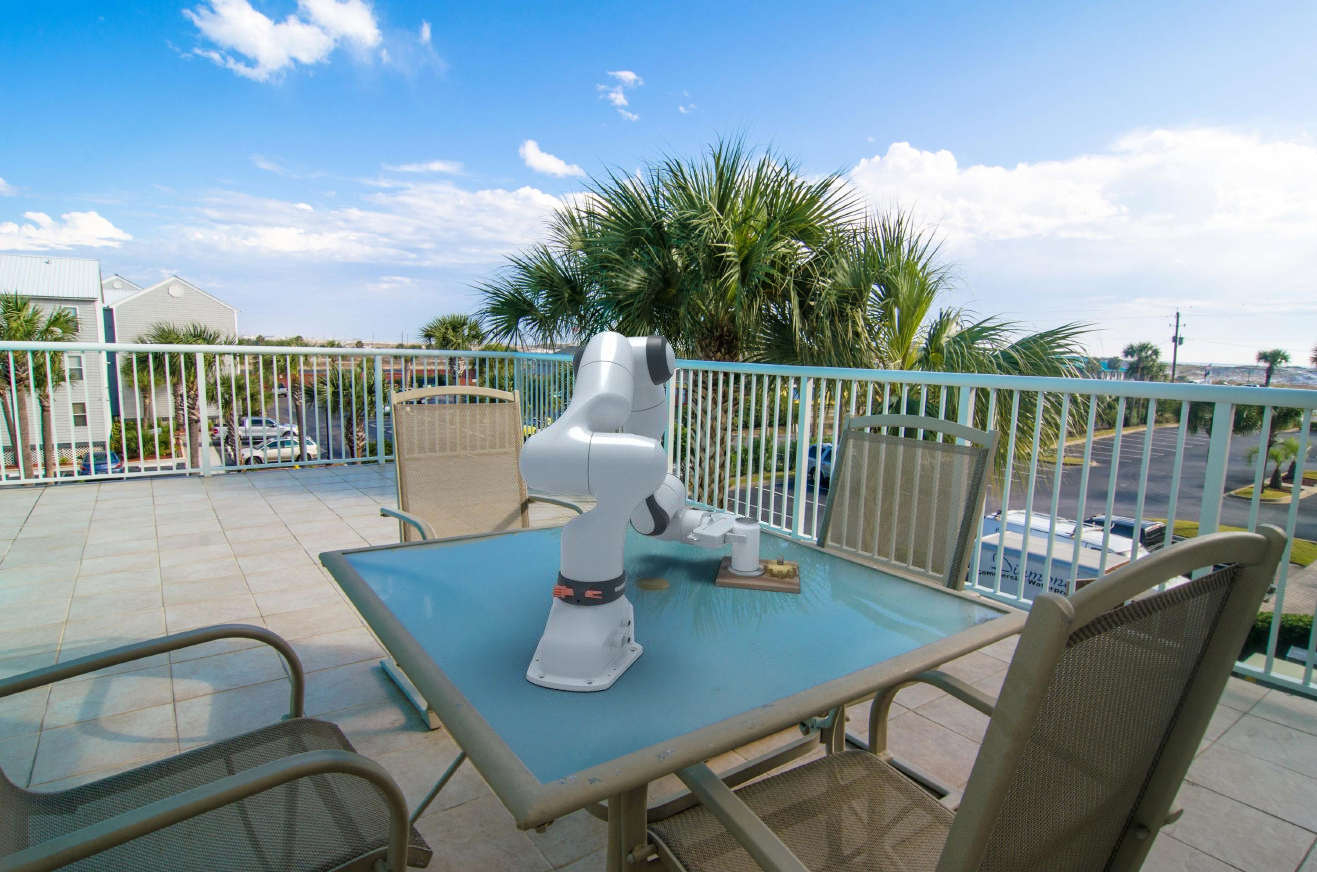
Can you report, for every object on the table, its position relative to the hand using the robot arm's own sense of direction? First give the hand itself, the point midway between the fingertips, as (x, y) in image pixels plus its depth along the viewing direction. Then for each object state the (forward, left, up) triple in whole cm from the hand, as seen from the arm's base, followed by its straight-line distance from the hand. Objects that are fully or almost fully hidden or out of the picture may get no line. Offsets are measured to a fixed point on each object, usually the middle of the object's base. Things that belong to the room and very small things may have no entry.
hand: (751, 535), depth 155 cm
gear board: (+1, -2, -10) cm, 10 cm away
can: (0, +1, -8) cm, 8 cm away
